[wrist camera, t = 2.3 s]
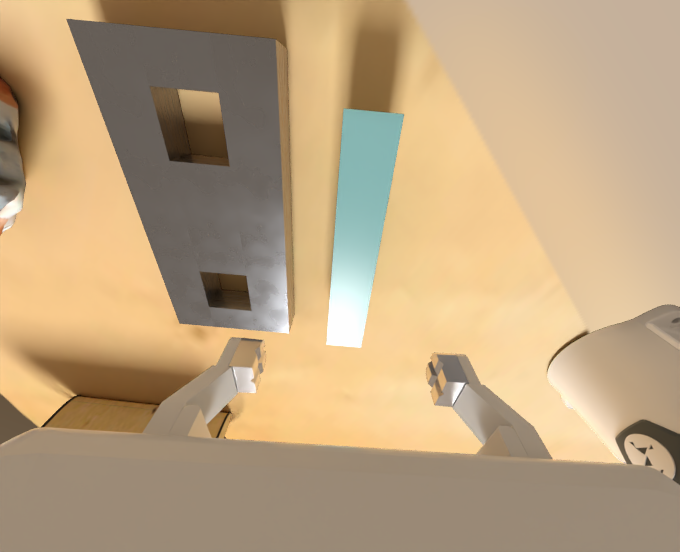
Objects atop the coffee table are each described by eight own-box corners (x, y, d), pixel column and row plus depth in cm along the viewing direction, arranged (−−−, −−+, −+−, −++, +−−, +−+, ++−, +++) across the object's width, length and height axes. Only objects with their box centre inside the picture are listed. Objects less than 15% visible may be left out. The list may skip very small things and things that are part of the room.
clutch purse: (83, 411, 46) (-18, 524, 34) (64, 389, 42) (-57, 507, 30) (247, 429, 47) (209, 546, 34) (244, 409, 43) (199, 532, 31)
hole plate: (287, 48, 17) (275, 39, 15) (294, 314, 30) (289, 333, 28) (108, 31, 17) (66, 18, 15) (194, 305, 30) (179, 323, 28)
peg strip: (392, 112, 19) (404, 114, 15) (360, 314, 30) (360, 347, 26) (345, 108, 19) (343, 108, 15) (330, 311, 30) (326, 344, 26)
